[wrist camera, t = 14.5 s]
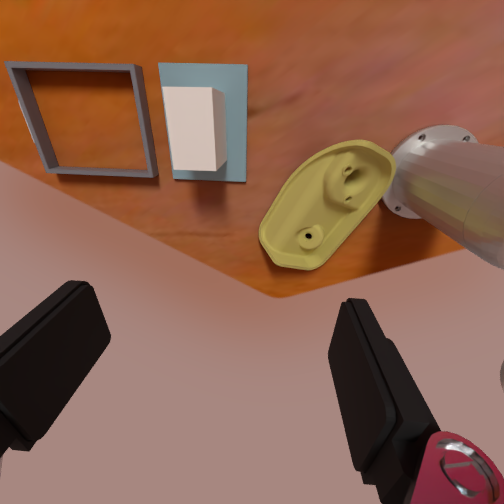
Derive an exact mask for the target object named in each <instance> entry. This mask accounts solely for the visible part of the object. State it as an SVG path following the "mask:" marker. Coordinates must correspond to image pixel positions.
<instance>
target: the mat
mask: <svg viewBox="0 0 504 504" xmlns="http://www.w3.org/2000/svg"><path fill="white" fill-rule="evenodd" d="M158 65H159V73H160V81H161V88H162V87H212V88H214V89H217V90H219V91H221V92H223V93H225V109H226V141H227V160H226V161H225V162H224V164H223V165H222V166H221V167H220V168H219V169H218V170H217V171H199V170H174V169H173V162H172V154H171V147H170V140H169V133H168V125H167V118H166V111H165V103H164V96H163V89H162V96H163V103H164V111H165V119H166V126H167V134H168V142H169V149H170V157H171V164H172V172H173V179H191V180H214V181H237V182H246V154H247V86H248V65H242V64H196V63H158Z"/></svg>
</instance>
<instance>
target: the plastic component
mask: <svg viewBox="0 0 504 504" xmlns="http://www.w3.org/2000/svg"><path fill="white" fill-rule="evenodd" d="M395 171H396V162H395V159H394V157H393V156H392V155H391V154H390V153H389V152H388V151H386V150H384V149H383V148H381V147H379V146H378V145H376V144H374V143H373V142H370V141H366V140H352V141H346V142H342V143H338V144H335V145H333V146H330V147H328V148H326V149H324V150H322V151H320V152H318V153H317V154H315V155H314V156H312V157H311V158H309V159H308V160H307V161H305V162H304V163H303V164H302V165H300V167H299V168H298V169H297V170H296V171H295V172H294V173H293V174H292V175H291V176H290V177H289V179H288V180H287V181H286V183H285V184H284V186H283V187H282V189H281V191H280V192H279V194H278V196H277V197H276V199H275V201H274V202H273V204H272V206H271V207H270V209H269V211H268V212H267V214H266V216H265V217H264V219H263V220H262V222H261V224H260V227H259V240H260V242H261V244H262V246H263V247H264V249H265V250H266V252H267V253H268V255H269V256H270V258H271V259H272V261H273V262H274V263H275V264H277V265H278V266H281V267H288V268H295V269H302V270H313V269H316V268H318V267H320V266H321V265H323V264H324V263H325V262H326V261H327V260H328V259H329V257H330V256H331V255H332V254H333V253H334V252H335V251H336V249H337V248H338V247H339V246H340V245H341V244H342V243H343V241H344V240H345V239H346V238H347V237H348V236H349V235H350V233H351V232H352V231H353V230H354V229H355V228H356V227H357V225H358V224H359V223H360V222H361V221H362V220H363V219H364V217H365V216H366V215H367V214H368V213H369V212H370V211H371V209H372V208H373V207H374V206H375V205H376V204H377V202H378V201H379V200H380V199H381V197H382V196H383V195H384V193H385V192H386V191H387V189H388V188H389V186H390V184H391V182H392V180H393V178H394V175H395ZM307 233H310V234H311V235H312V238H311V239H308V238H306V236H305V235H306V234H307Z"/></svg>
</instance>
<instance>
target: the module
mask: <svg viewBox="0 0 504 504" xmlns="http://www.w3.org/2000/svg"><path fill="white" fill-rule="evenodd" d="M162 89H163V96H164V103H165V111H166V118H167V125H168V133H169V140H170V147H171V154H172V162H173V169H174V170H199V171H217V170H218V169H219V168H220V167H221V166H222V165H223V164H224V162H225V161H226V160H227V141H226V109H225V93H223V92H221V91H219V90H217V89H214V88H212V87H162Z"/></svg>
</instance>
